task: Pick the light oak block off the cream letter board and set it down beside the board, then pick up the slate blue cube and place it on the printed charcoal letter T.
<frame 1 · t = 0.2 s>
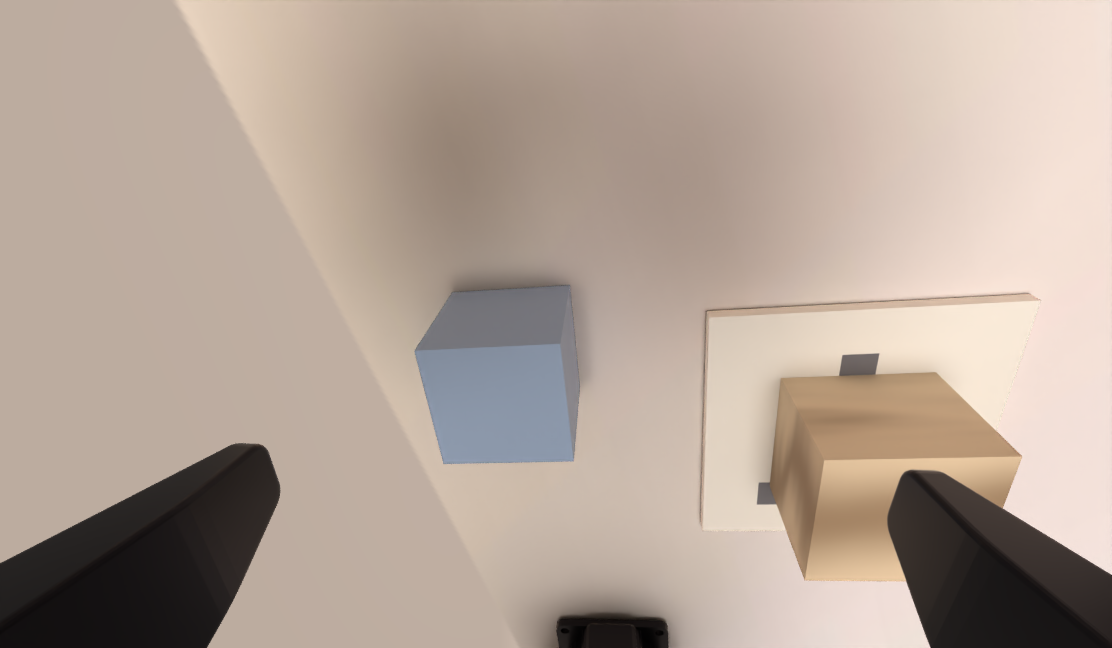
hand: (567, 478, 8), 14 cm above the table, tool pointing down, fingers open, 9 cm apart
letter board: (841, 424, 24), on the table
slate blue cube: (518, 340, 23), on the table
light oak block: (846, 433, 23), point 1 cm above the table, touching letter board
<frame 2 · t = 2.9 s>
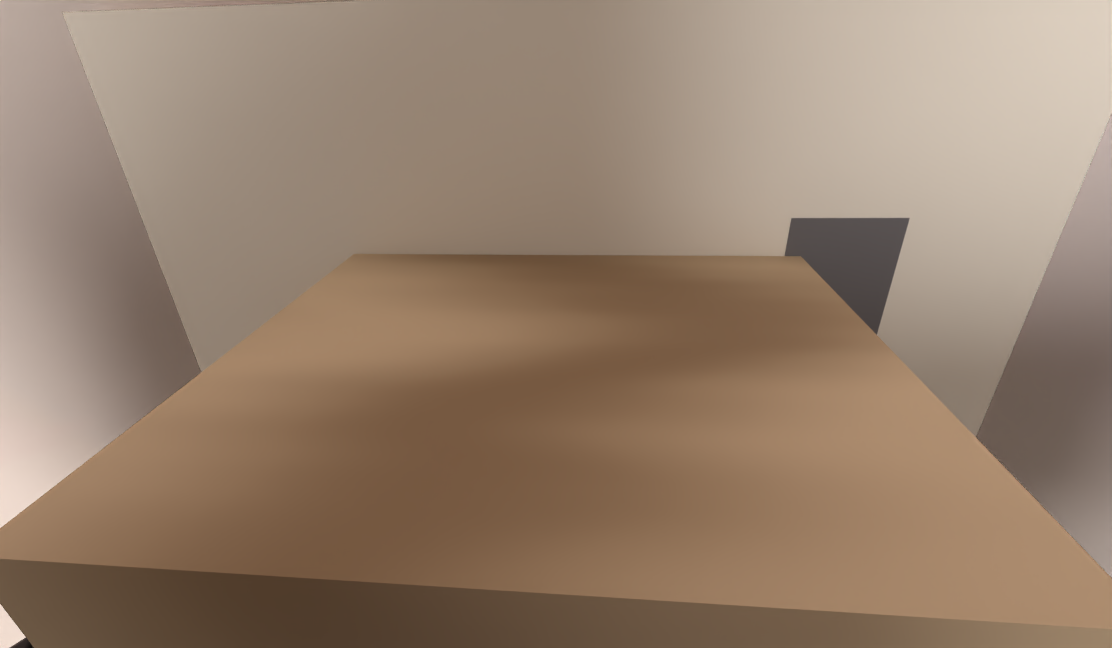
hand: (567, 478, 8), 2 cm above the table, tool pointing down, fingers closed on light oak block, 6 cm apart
letter board: (573, 410, 9), on the table
light oak block: (571, 433, 8), point 1 cm above the table, touching gripper, letter board
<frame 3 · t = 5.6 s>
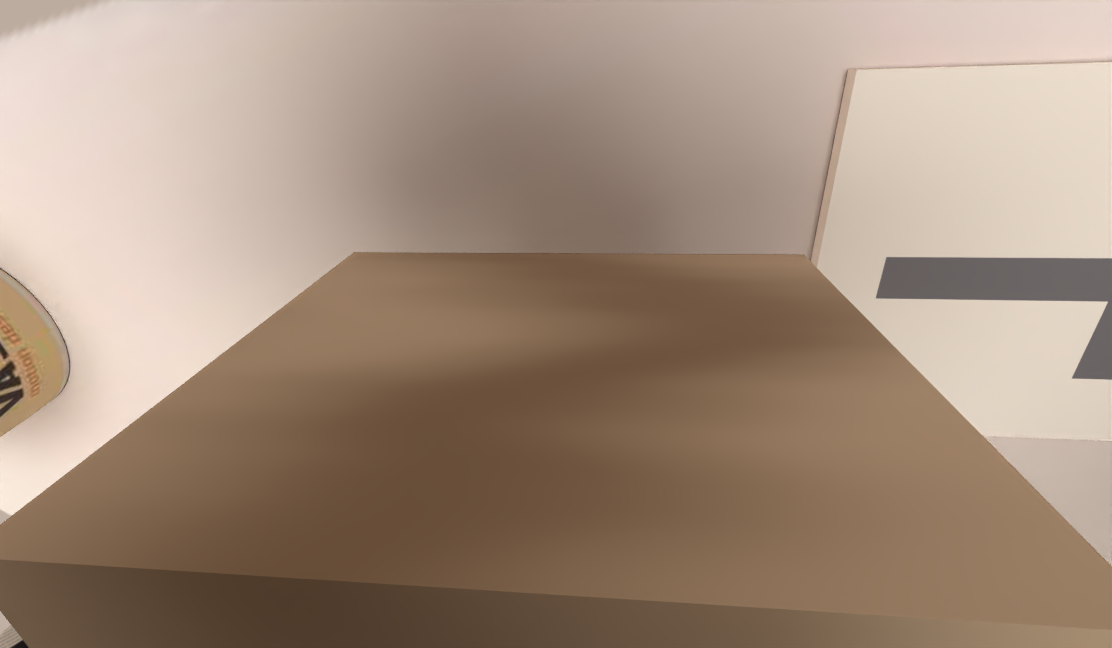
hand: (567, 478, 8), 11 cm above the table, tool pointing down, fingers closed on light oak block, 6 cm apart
letter board: (1005, 272, 17), on the table
light oak block: (572, 433, 8), point 10 cm above the table, touching gripper
small box: (231, 511, 26), on the table
when the fingers open (3 cm above the table, at t = 8.1 s): light oak block drops 2 cm, on the table.
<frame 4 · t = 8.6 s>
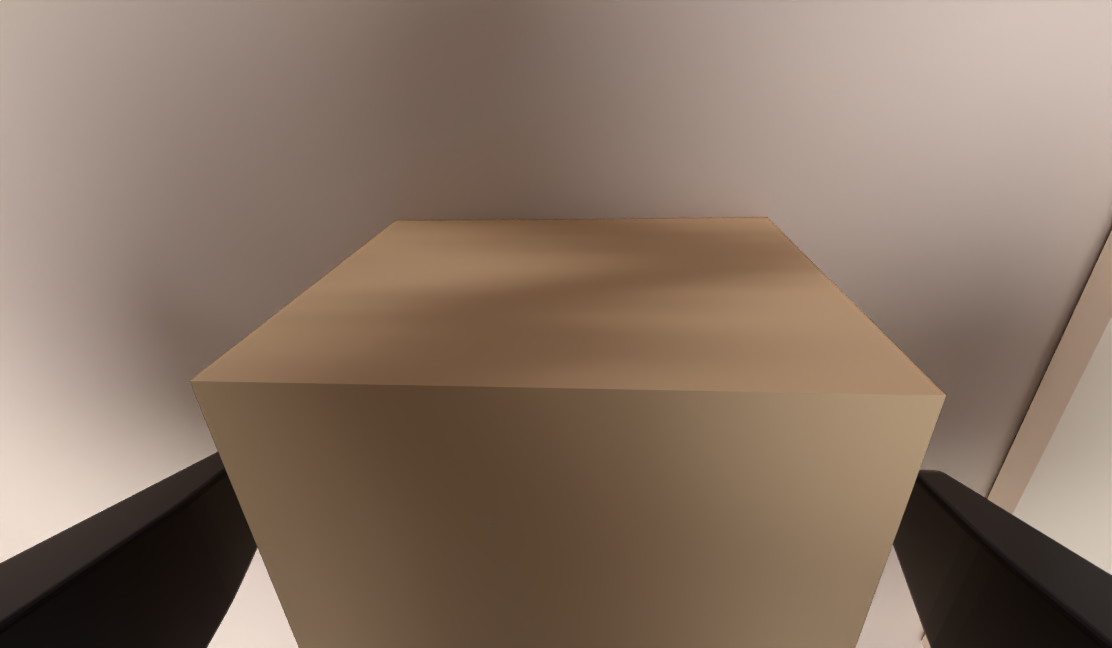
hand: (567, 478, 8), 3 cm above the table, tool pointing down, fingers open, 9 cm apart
light oak block: (578, 373, 10), on the table
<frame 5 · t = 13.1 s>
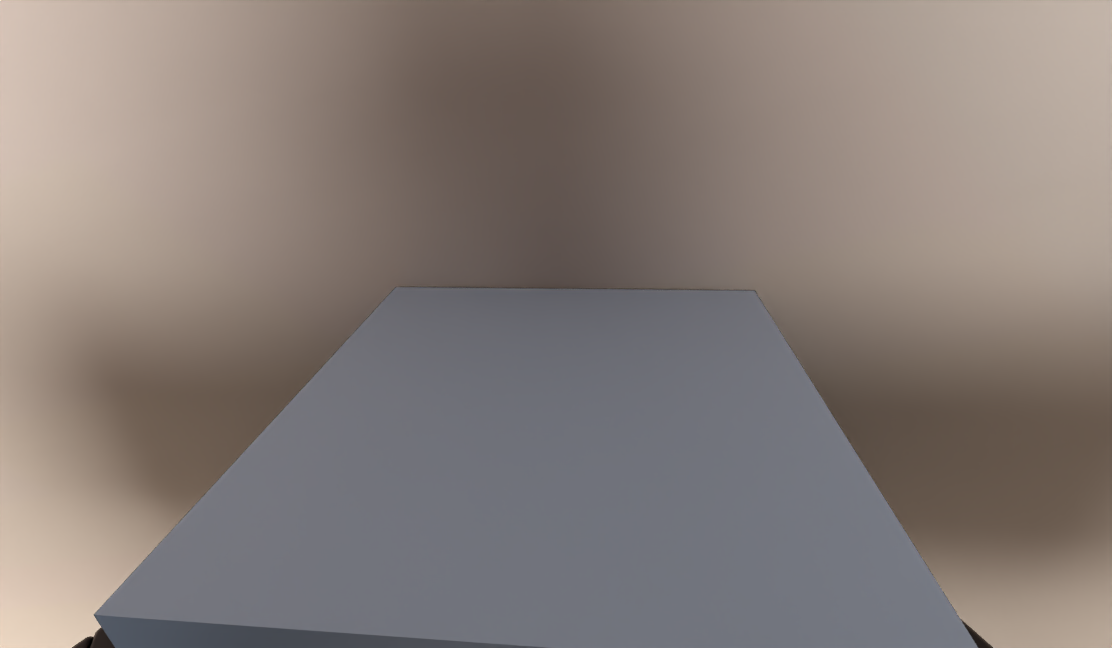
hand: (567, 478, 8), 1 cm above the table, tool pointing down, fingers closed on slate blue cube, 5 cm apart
slate blue cube: (572, 432, 8), on the table, touching gripper
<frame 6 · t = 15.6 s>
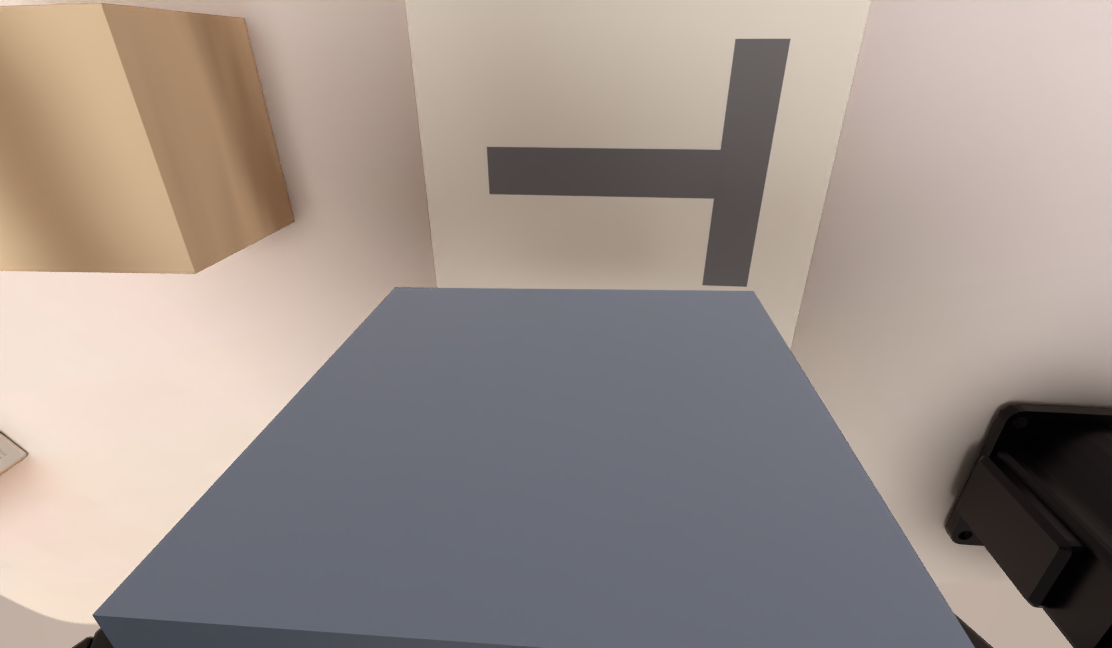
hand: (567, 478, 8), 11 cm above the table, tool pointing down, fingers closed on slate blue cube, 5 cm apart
letter board: (620, 169, 16), on the table
slate blue cube: (571, 432, 8), point 10 cm above the table, touching gripper
light oak block: (185, 128, 17), on the table
when the fingers open (3 cm above the table, at t = 18.1 s): slate blue cube drops 1 cm, resting on letter board.
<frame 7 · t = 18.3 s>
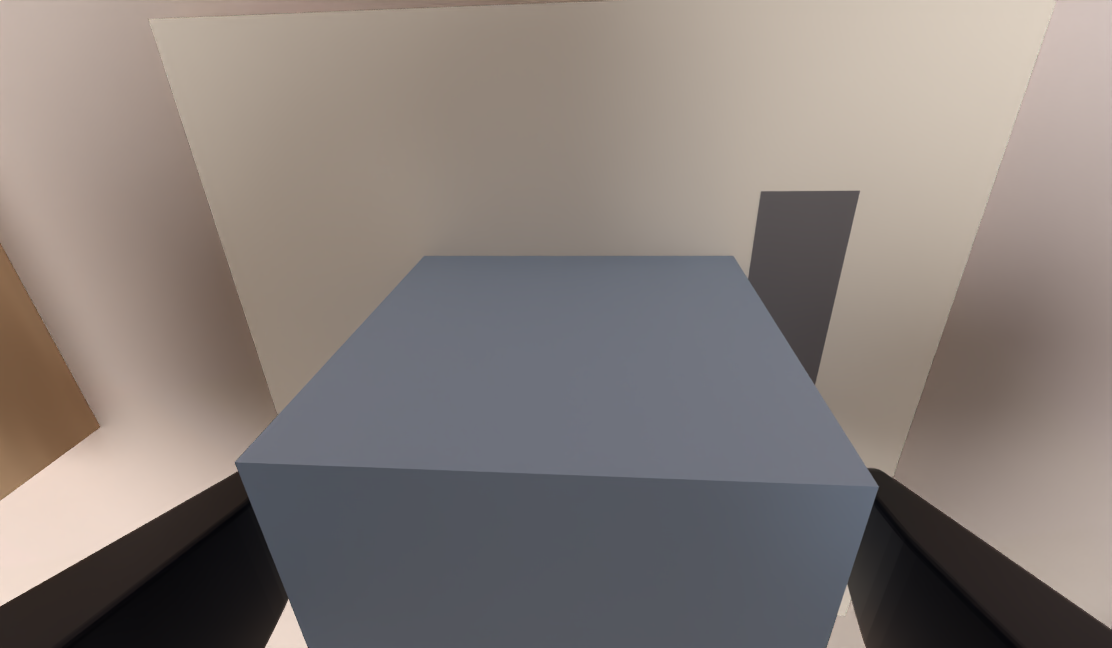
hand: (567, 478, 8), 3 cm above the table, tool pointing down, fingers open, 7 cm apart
letter board: (576, 367, 10), on the table
slate blue cube: (576, 385, 10), point 1 cm above the table, touching letter board
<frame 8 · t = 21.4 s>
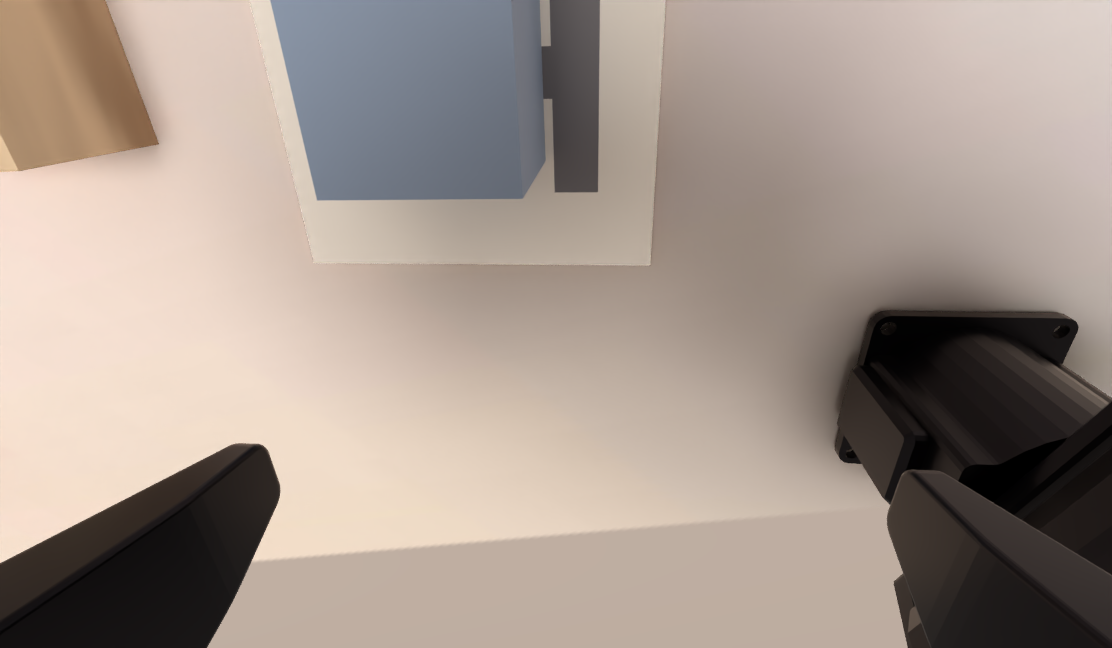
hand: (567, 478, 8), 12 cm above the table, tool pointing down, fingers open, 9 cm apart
letter board: (463, 74, 16), on the table
slate blue cube: (459, 75, 16), point 1 cm above the table, touching letter board
light oak block: (42, 51, 17), on the table
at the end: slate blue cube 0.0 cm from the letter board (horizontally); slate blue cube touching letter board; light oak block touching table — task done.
